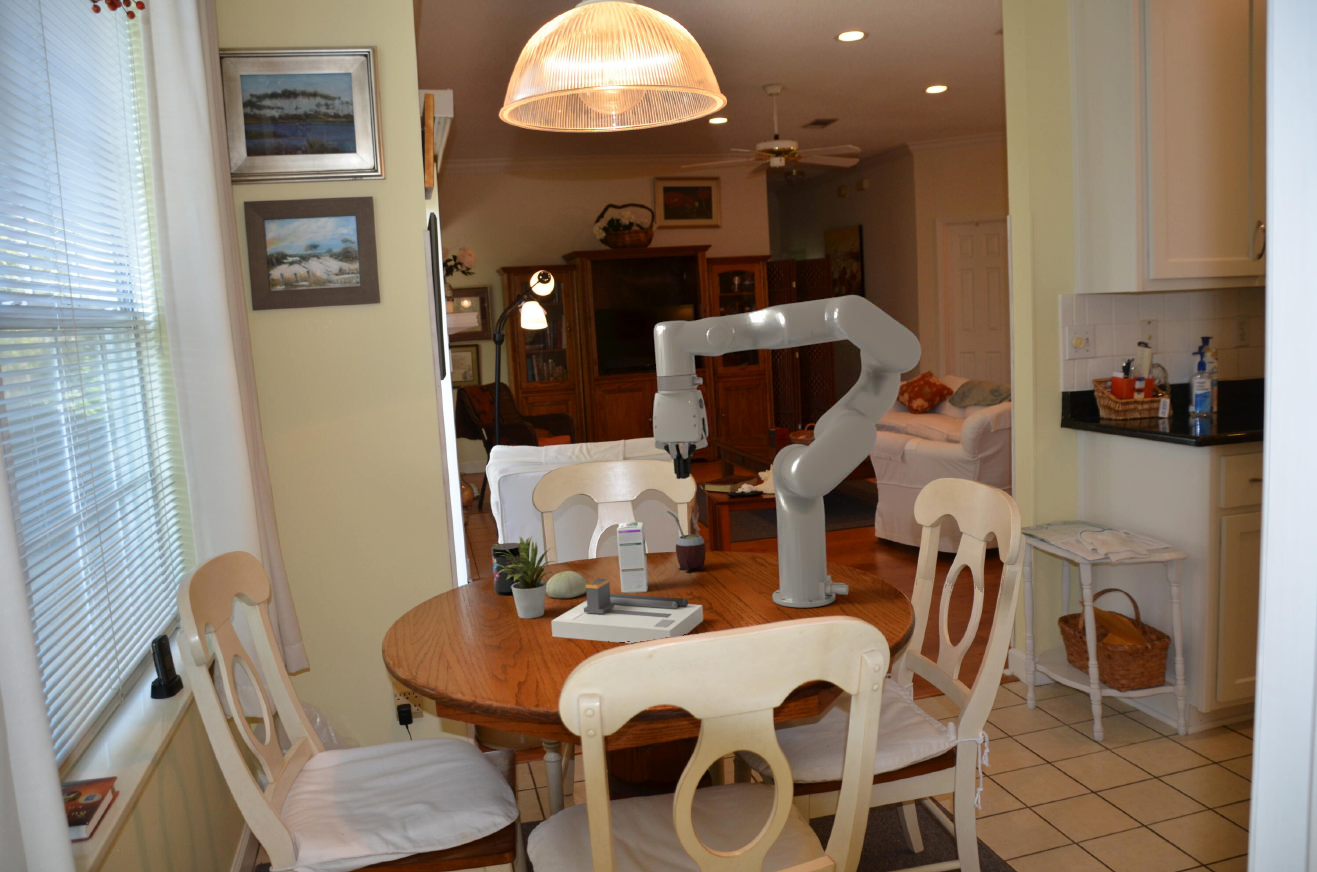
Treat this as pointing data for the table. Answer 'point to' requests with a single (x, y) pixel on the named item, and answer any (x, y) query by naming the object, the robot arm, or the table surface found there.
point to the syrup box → (632, 557)
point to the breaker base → (630, 620)
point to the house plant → (528, 580)
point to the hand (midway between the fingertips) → (683, 477)
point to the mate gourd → (690, 550)
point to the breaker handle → (598, 596)
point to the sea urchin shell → (566, 585)
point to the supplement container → (500, 578)
